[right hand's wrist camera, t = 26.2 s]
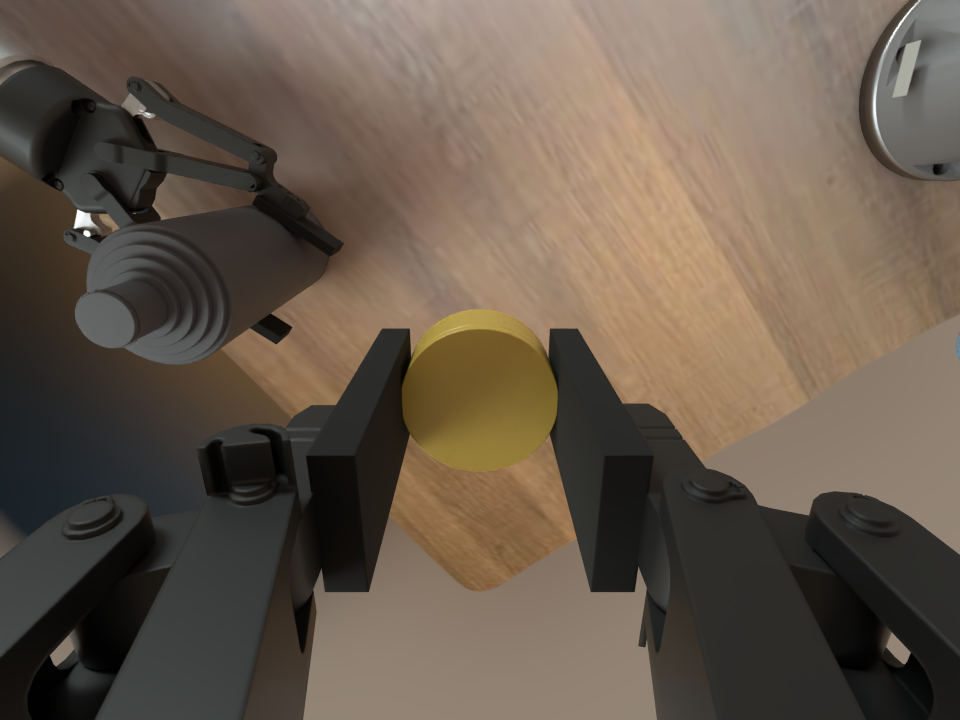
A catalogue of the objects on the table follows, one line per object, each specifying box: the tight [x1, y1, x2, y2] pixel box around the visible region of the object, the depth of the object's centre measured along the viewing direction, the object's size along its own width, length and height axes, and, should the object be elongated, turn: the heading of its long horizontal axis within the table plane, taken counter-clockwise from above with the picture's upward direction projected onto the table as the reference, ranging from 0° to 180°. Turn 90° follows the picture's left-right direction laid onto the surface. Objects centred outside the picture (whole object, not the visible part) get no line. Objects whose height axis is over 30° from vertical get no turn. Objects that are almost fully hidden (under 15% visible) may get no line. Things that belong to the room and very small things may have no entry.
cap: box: [402, 309, 558, 471], centre depth 13 cm, size 4×4×2 cm
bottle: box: [75, 205, 329, 365], centre depth 35 cm, size 8×8×24 cm
